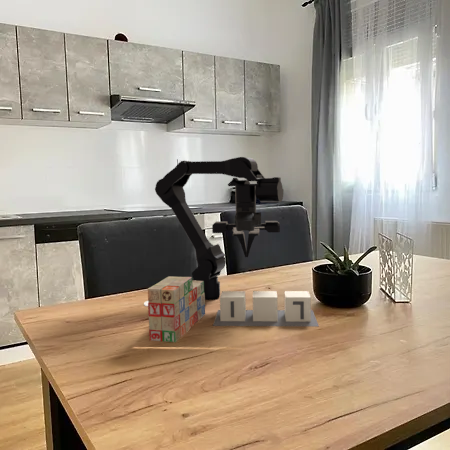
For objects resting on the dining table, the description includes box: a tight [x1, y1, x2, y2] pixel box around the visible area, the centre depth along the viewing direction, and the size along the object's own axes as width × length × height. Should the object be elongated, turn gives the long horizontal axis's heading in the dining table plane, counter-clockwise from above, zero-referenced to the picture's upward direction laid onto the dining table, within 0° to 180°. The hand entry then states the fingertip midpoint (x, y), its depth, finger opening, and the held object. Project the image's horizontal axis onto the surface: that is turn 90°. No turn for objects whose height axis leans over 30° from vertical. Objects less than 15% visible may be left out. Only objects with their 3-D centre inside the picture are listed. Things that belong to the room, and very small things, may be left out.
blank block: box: [252, 290, 279, 321], centre depth 113 cm, size 6×6×6 cm
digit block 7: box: [283, 290, 312, 322], centre depth 112 cm, size 6×6×6 cm
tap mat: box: [212, 309, 319, 327], centre depth 113 cm, size 25×13×1 cm, turn 85°
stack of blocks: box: [147, 275, 206, 343], centre depth 107 cm, size 21×6×12 cm, turn 165°
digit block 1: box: [219, 290, 247, 321], centre depth 113 cm, size 6×6×6 cm
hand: (246, 257), depth 128 cm, fingers closed
